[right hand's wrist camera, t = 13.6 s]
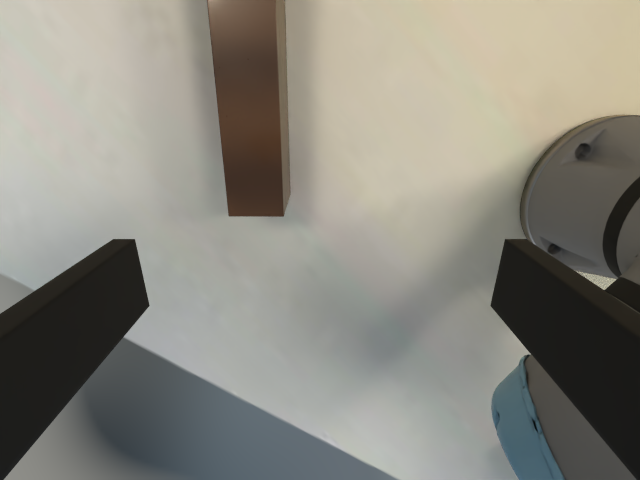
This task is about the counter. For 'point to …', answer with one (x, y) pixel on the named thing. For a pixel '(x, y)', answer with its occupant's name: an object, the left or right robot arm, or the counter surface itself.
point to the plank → (252, 103)
